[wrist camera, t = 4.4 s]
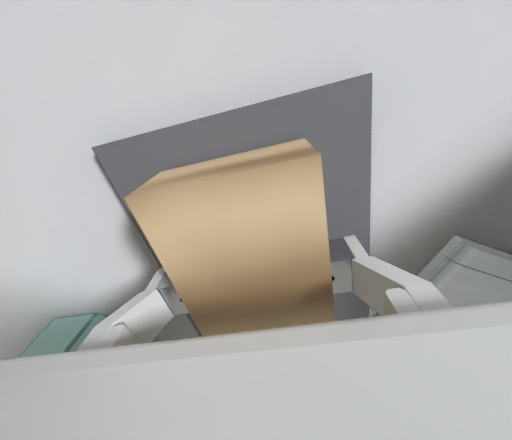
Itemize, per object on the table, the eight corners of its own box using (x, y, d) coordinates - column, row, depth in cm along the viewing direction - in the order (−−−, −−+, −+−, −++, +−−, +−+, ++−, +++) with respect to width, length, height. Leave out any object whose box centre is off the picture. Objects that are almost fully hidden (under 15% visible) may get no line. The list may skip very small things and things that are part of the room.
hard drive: (433, 389, 18) (590, 287, 12) (345, 369, 17) (472, 247, 11) (421, 367, 19) (556, 267, 14) (339, 348, 18) (448, 229, 12)
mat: (100, 145, 10) (91, 147, 10) (365, 74, 9) (372, 72, 8) (202, 330, 17) (200, 337, 16) (364, 309, 15) (368, 317, 15)
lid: (160, 171, 10) (123, 198, 7) (304, 137, 9) (320, 154, 6) (225, 314, 15) (216, 361, 12) (323, 301, 14) (338, 349, 11)
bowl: (26, 323, 17) (-46, 390, 13) (126, 308, 16) (81, 377, 12) (91, 380, 21) (51, 445, 17) (175, 372, 20) (153, 440, 16)
